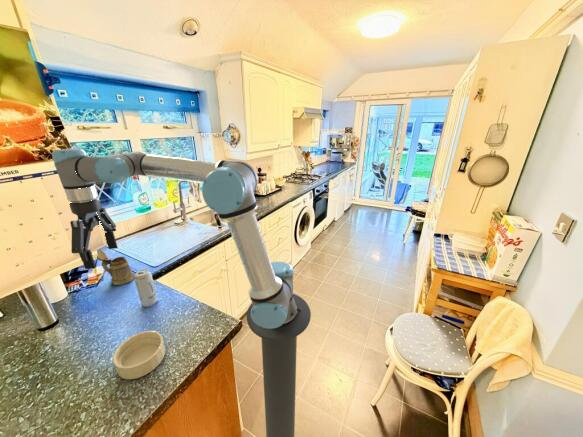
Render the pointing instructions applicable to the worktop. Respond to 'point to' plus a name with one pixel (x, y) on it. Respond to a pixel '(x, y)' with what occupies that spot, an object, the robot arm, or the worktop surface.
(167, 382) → the worktop surface
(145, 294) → the energy drink can
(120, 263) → the wooden mug
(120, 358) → the bowl
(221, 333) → the worktop surface
